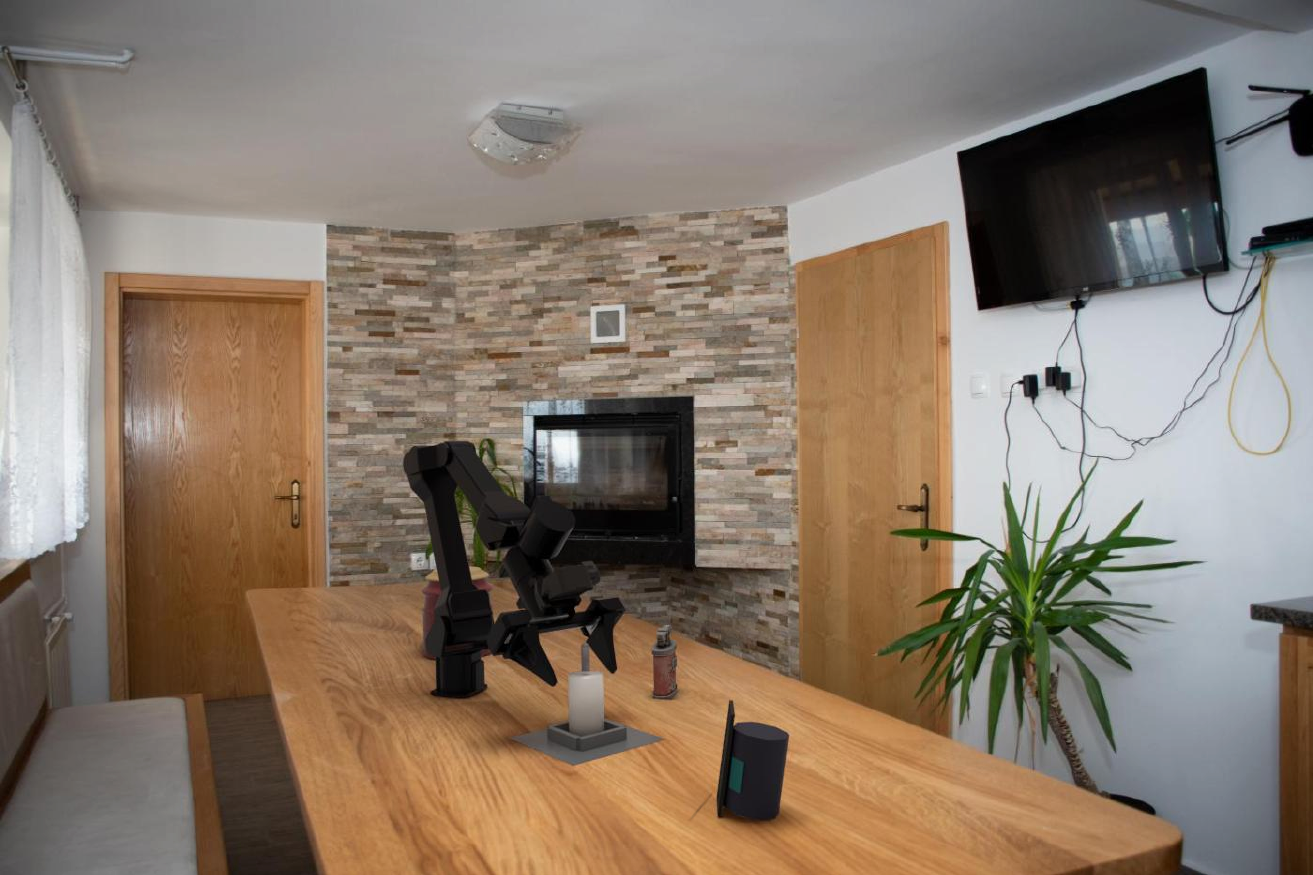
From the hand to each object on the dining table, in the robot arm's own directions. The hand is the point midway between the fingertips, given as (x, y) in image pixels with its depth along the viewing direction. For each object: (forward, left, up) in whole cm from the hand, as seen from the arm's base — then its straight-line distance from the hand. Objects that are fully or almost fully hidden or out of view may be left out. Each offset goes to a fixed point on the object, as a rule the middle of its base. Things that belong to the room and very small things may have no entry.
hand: (585, 678), depth 118 cm
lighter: (+2, +24, -8) cm, 25 cm away
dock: (0, 0, -8) cm, 8 cm away
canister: (-44, +41, -8) cm, 61 cm away
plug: (0, 0, -8) cm, 8 cm away
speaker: (+25, -15, -8) cm, 30 cm away
